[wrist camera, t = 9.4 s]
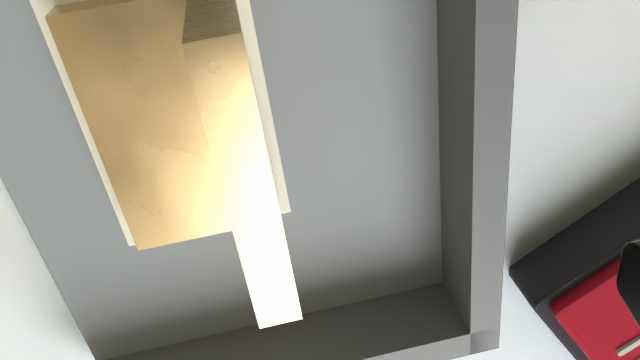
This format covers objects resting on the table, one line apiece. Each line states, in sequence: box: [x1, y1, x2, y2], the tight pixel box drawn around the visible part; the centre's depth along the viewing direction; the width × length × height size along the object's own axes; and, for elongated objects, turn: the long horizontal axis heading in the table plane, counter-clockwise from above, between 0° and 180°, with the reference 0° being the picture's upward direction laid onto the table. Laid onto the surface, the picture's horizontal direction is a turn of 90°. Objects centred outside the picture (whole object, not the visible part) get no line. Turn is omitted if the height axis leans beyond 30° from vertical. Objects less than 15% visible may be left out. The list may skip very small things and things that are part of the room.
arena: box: [0, 0, 519, 360], centre depth 18 cm, size 16×18×4 cm
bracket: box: [45, 0, 303, 329], centre depth 15 cm, size 8×5×6 cm, turn 7°
